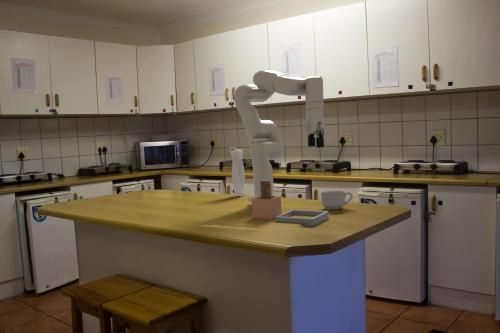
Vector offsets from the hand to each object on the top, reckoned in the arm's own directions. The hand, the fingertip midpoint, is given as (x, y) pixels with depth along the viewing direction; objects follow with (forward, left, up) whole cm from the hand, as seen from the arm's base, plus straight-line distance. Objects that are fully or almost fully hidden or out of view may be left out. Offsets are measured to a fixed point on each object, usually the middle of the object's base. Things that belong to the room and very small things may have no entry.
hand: (315, 146), depth 201 cm
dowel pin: (-16, -17, -28) cm, 36 cm away
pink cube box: (-16, -17, -29) cm, 37 cm away
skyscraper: (-63, +37, -29) cm, 79 cm away
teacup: (+4, +12, -29) cm, 32 cm away
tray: (0, -17, -29) cm, 33 cm away
